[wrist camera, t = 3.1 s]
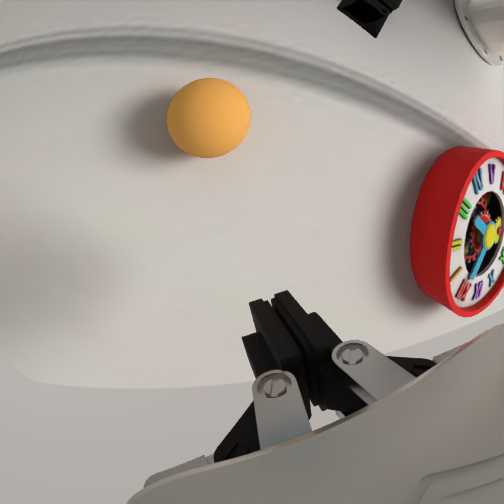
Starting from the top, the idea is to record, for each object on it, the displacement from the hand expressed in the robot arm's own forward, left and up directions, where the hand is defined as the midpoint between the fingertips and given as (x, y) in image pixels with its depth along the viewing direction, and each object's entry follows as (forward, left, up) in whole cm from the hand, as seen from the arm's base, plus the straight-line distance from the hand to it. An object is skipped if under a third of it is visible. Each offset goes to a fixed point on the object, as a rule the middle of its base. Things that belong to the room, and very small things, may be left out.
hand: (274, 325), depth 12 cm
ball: (0, -10, -10) cm, 14 cm away
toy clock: (-28, +6, -13) cm, 32 cm away
